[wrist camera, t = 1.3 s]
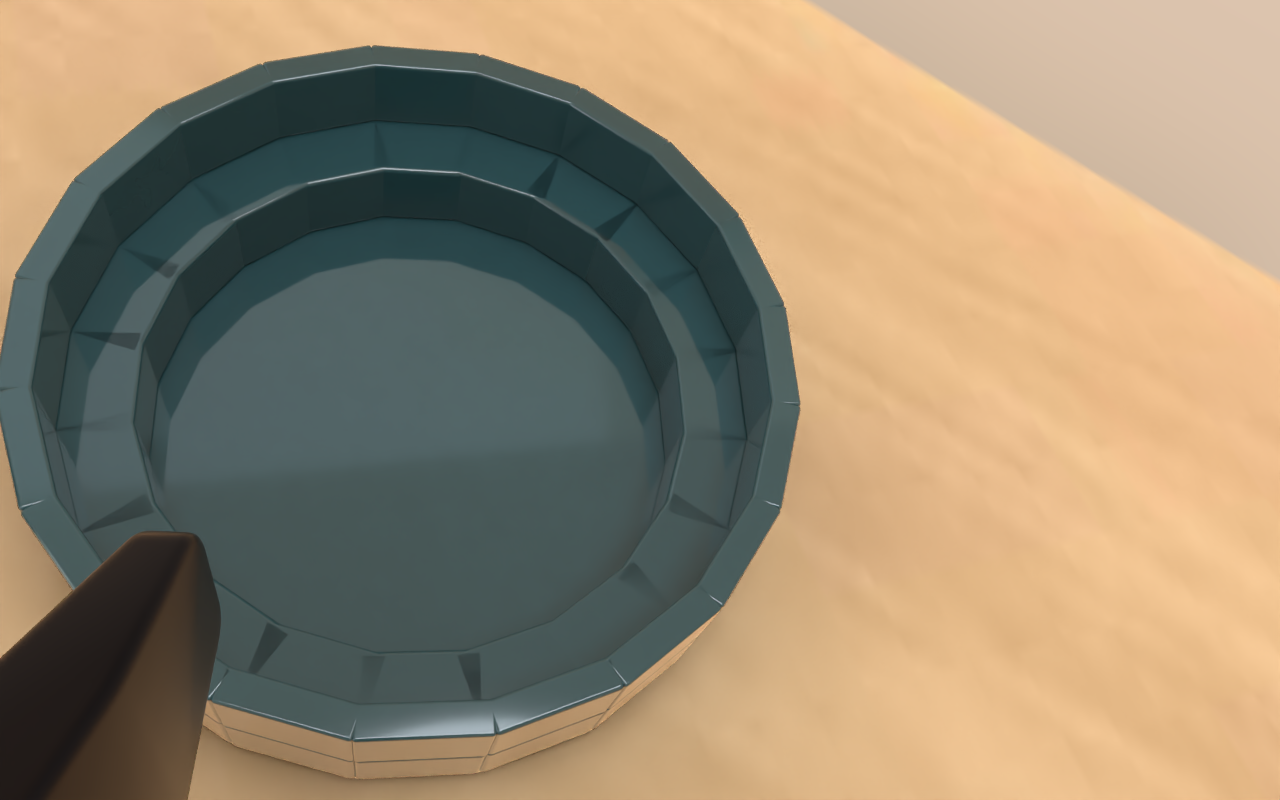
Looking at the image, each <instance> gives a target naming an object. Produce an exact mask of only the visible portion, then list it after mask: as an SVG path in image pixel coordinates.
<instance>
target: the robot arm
mask: <svg viewBox="0 0 1280 800" xmlns="http://www.w3.org/2000/svg"><path fill="white" fill-rule="evenodd" d="M220 628H221V609H220V603H219V599H218V595H217V592H216V588H215V584H214V581H213V577H212V573H211V569H210V566H209V562H208V558H207V554H206V551H205V547H204V545H203V543H202V540H201V539H200V538H199V537H198V536H197V535H196V534H193V533H189V532H170V531H143V532H140V533H137V534H136V535H134V536H132V537H131V538H129V539H128V540H127V541H126V542H125V543H124V544H123V545H122V546H121V547H119V548H118V549H117V550H116V551H115V552H114V553H113V554H112V555H111V556H110V557H109V558H108V559H107V560H105V561H104V562H103V563H102V564H101V565H100V566H99V567H98V568H97V569H96V570H95V571H94V572H93V573H91V574H90V575H89V576H88V577H87V578H86V579H85V580H84V581H83V582H82V583H81V584H80V585H79V586H77V587H76V588H75V589H74V590H73V591H72V592H71V593H70V594H69V595H68V596H67V597H66V598H65V599H63V600H62V601H61V602H60V603H59V604H58V605H57V606H56V607H55V608H54V609H53V610H52V611H51V612H49V613H48V614H47V615H46V616H45V617H44V618H43V619H42V620H41V621H40V622H39V623H38V624H37V625H35V626H34V627H33V628H32V629H31V630H30V631H29V632H28V633H27V634H26V635H25V636H24V637H23V638H21V639H20V640H19V641H18V642H17V643H16V644H15V645H14V646H13V647H12V648H11V649H10V650H9V651H7V652H6V653H5V654H4V655H3V656H2V657H1V658H0V800H188V794H189V789H190V784H191V779H192V774H193V769H194V764H195V759H196V754H197V749H198V744H199V739H200V734H201V729H202V723H203V718H204V713H205V708H206V703H207V698H208V693H209V688H210V683H211V678H212V673H213V668H214V663H215V657H216V652H217V647H218V642H219V637H220Z"/></svg>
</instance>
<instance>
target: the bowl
mask: <svg viewBox="0 0 1280 800" xmlns="http://www.w3.org/2000/svg"><path fill="white" fill-rule="evenodd" d="M799 406H800V398H799V391H798V385H797V378H796V372H795V365H794V359H793V353H792V346H791V340H790V333H789V327H788V320H787V314H786V308H785V306H784V302H783V300H782V298H781V296H780V294H779V292H778V290H777V288H776V286H775V284H774V282H773V280H772V278H771V276H770V274H769V272H768V270H767V269H766V267H765V265H764V263H763V261H762V259H761V257H760V255H759V253H758V251H757V249H756V247H755V245H754V243H753V241H752V239H751V237H750V235H749V233H748V231H747V229H746V227H745V225H744V223H743V221H742V219H741V218H740V217H739V214H738V213H737V212H736V211H735V210H734V208H733V207H732V206H731V205H730V204H729V203H728V202H727V201H726V200H725V199H724V198H723V197H722V196H721V195H720V194H719V193H718V192H717V190H716V189H715V188H714V187H713V186H712V185H711V184H710V183H709V182H708V181H707V180H706V179H705V178H704V177H703V176H702V175H701V174H700V172H699V171H698V170H697V169H696V168H695V167H694V166H693V165H692V164H691V163H690V162H689V161H688V160H687V159H686V158H685V157H684V156H683V154H682V153H681V152H680V151H679V150H678V149H677V148H676V147H675V146H674V145H673V144H672V143H671V142H668V140H667V139H665V138H663V137H662V136H660V135H659V134H657V133H655V132H654V131H652V130H650V129H649V128H647V127H646V126H644V125H642V124H641V123H639V122H638V121H636V120H634V119H633V118H631V117H629V116H628V115H626V114H625V113H623V112H621V111H620V110H618V109H617V108H615V107H613V106H612V105H610V104H609V103H607V102H605V101H604V100H602V99H600V98H599V97H597V96H596V95H594V94H592V93H591V92H589V91H588V90H586V89H584V88H581V89H580V87H579V86H578V85H575V84H572V83H569V82H566V81H563V80H559V79H556V78H553V77H550V76H547V75H544V74H541V73H538V72H535V71H532V70H529V69H526V68H522V67H519V66H516V65H513V64H510V63H507V62H504V61H501V60H498V59H495V58H492V57H489V56H485V55H480V56H479V54H477V53H465V52H453V51H440V50H428V49H415V48H402V47H390V46H377V45H374V46H372V48H371V46H362V47H356V48H349V49H343V50H337V51H331V52H325V53H318V54H312V55H306V56H300V57H293V58H287V59H281V60H275V61H269V62H264V63H263V65H262V64H257V65H255V66H253V67H251V68H248V69H246V70H244V71H241V72H239V73H237V74H235V75H232V76H230V77H228V78H226V79H223V80H221V81H219V82H216V83H214V84H212V85H210V86H207V87H205V88H203V89H201V90H198V91H196V92H194V93H191V94H189V95H187V96H185V97H182V98H180V99H178V100H176V101H173V102H171V103H169V104H166V105H164V106H162V107H161V109H160V108H158V109H156V110H155V111H154V112H153V113H152V114H150V115H149V116H148V117H147V118H146V119H144V120H143V121H142V122H141V123H140V124H138V125H137V126H136V127H135V128H134V129H132V130H131V131H130V132H129V133H128V134H127V135H125V136H124V137H123V138H122V139H121V140H119V141H118V142H117V143H116V144H115V145H113V146H112V147H111V148H110V149H109V150H107V151H106V152H105V153H104V154H103V155H102V156H100V157H99V158H98V159H97V160H96V161H94V162H93V163H92V164H91V165H90V166H88V167H87V168H86V169H85V170H84V171H82V172H81V173H80V174H79V175H78V176H77V177H75V179H74V181H72V182H71V184H70V185H69V187H68V189H67V190H66V192H65V194H64V195H63V197H62V199H61V200H60V202H59V204H58V205H57V207H56V208H55V210H54V212H53V213H52V215H51V217H50V218H49V220H48V222H47V223H46V225H45V227H44V228H43V230H42V231H41V233H40V235H39V236H38V238H37V240H36V241H35V243H34V245H33V246H32V248H31V250H30V251H29V253H28V254H27V256H26V258H25V259H24V261H23V263H22V264H21V266H20V268H19V269H18V271H17V272H16V274H15V279H14V281H13V286H12V292H11V297H10V303H9V308H8V314H7V319H6V325H5V330H4V336H3V341H2V347H1V352H0V427H1V431H2V436H3V441H4V445H5V450H6V455H7V459H8V464H9V468H10V473H11V478H12V482H13V487H14V492H15V496H16V501H17V506H18V509H19V510H20V512H21V516H22V518H23V519H24V520H25V522H26V523H27V525H28V526H29V528H30V529H31V531H32V532H33V534H34V535H35V537H36V538H37V539H38V541H39V542H40V544H41V545H42V547H43V548H44V550H45V551H46V553H47V554H48V556H49V557H50V559H51V560H52V561H53V563H54V564H55V566H56V567H57V569H58V570H59V572H60V573H61V575H62V576H63V578H64V579H65V580H66V582H67V583H68V585H69V586H70V588H71V589H72V591H73V590H74V589H75V588H76V587H77V586H79V585H80V584H81V583H82V582H83V581H84V580H85V579H86V578H87V577H88V576H89V575H90V574H91V573H93V572H94V571H95V570H96V569H97V568H98V567H99V566H100V565H101V564H102V563H103V562H104V561H105V560H107V559H108V558H109V557H110V556H111V555H112V554H113V553H114V552H115V551H116V550H117V549H118V548H119V547H121V546H122V545H123V544H124V543H125V542H126V541H127V540H128V539H129V538H131V537H132V536H134V535H136V534H137V533H140V532H143V531H170V532H189V533H193V534H196V535H197V536H198V537H199V538H200V539H201V540H202V543H203V545H204V547H205V551H206V554H207V558H208V562H209V566H210V569H211V573H212V577H213V581H214V584H215V588H216V592H217V595H218V599H219V603H220V609H221V628H220V637H219V642H218V647H217V652H216V657H215V663H214V668H213V673H212V678H211V683H210V688H209V693H208V698H207V703H206V708H205V713H204V718H203V723H202V724H203V725H204V726H205V727H207V728H208V729H210V730H211V731H213V732H214V733H215V734H217V735H218V736H220V737H221V738H223V739H224V740H225V741H227V742H230V743H233V745H234V746H236V747H239V748H243V749H246V750H250V751H253V752H257V753H260V754H264V755H268V756H271V757H275V758H278V759H282V760H285V761H289V762H292V763H296V764H300V765H303V766H307V767H310V768H314V769H317V770H321V771H324V772H328V773H332V774H335V775H339V776H342V777H346V778H349V779H354V778H355V777H356V778H358V779H376V778H397V777H418V776H439V775H460V774H476V773H478V772H479V771H480V772H486V771H489V770H491V769H494V768H496V767H499V766H502V765H504V764H507V763H509V762H512V761H515V760H517V759H520V758H522V757H525V756H528V755H530V754H533V753H535V752H538V751H541V750H543V749H546V748H548V747H551V746H554V745H556V744H559V743H561V742H564V741H567V740H569V739H572V738H575V737H577V736H580V735H582V734H585V733H588V732H589V731H591V729H592V730H593V729H595V728H596V727H598V726H599V725H600V724H601V723H602V722H604V721H605V720H606V719H607V718H608V717H610V716H611V715H612V714H613V713H614V712H616V711H617V710H618V709H619V708H621V707H622V706H623V705H624V704H625V703H627V702H628V701H629V700H630V699H631V698H633V697H634V696H635V695H636V694H637V693H639V692H640V691H641V690H642V689H643V688H645V687H646V686H647V685H648V684H650V683H651V682H652V681H653V680H654V679H656V678H657V677H658V676H659V675H660V674H662V673H663V672H664V671H665V670H666V669H668V668H669V667H670V666H671V665H672V664H674V663H675V662H676V661H677V660H678V659H679V658H680V657H681V655H682V654H683V653H684V652H685V651H686V650H687V649H688V647H689V646H690V645H691V644H692V643H693V642H694V641H695V639H696V638H697V637H698V636H699V635H700V634H701V632H702V631H703V630H704V629H705V628H706V627H707V626H708V624H709V623H710V622H711V621H712V620H713V619H714V618H715V616H716V615H717V614H718V613H719V612H720V611H721V609H722V608H723V607H724V606H725V604H726V603H727V601H728V599H729V598H730V596H731V594H732V593H733V591H734V589H735V588H736V586H737V584H738V583H739V581H740V579H741V577H742V576H743V574H744V572H745V571H746V569H747V567H748V566H749V564H750V562H751V561H752V559H753V557H754V556H755V554H756V552H757V551H758V549H759V547H760V546H761V544H762V542H763V541H764V539H765V537H766V536H767V534H768V532H769V531H770V529H771V527H772V526H773V524H774V522H775V521H776V519H777V517H778V516H779V514H780V509H781V508H782V504H783V499H784V493H785V488H786V483H787V478H788V472H789V467H790V462H791V457H792V451H793V446H794V441H795V436H796V430H797V425H798V420H799V414H800V407H799Z"/></svg>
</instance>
